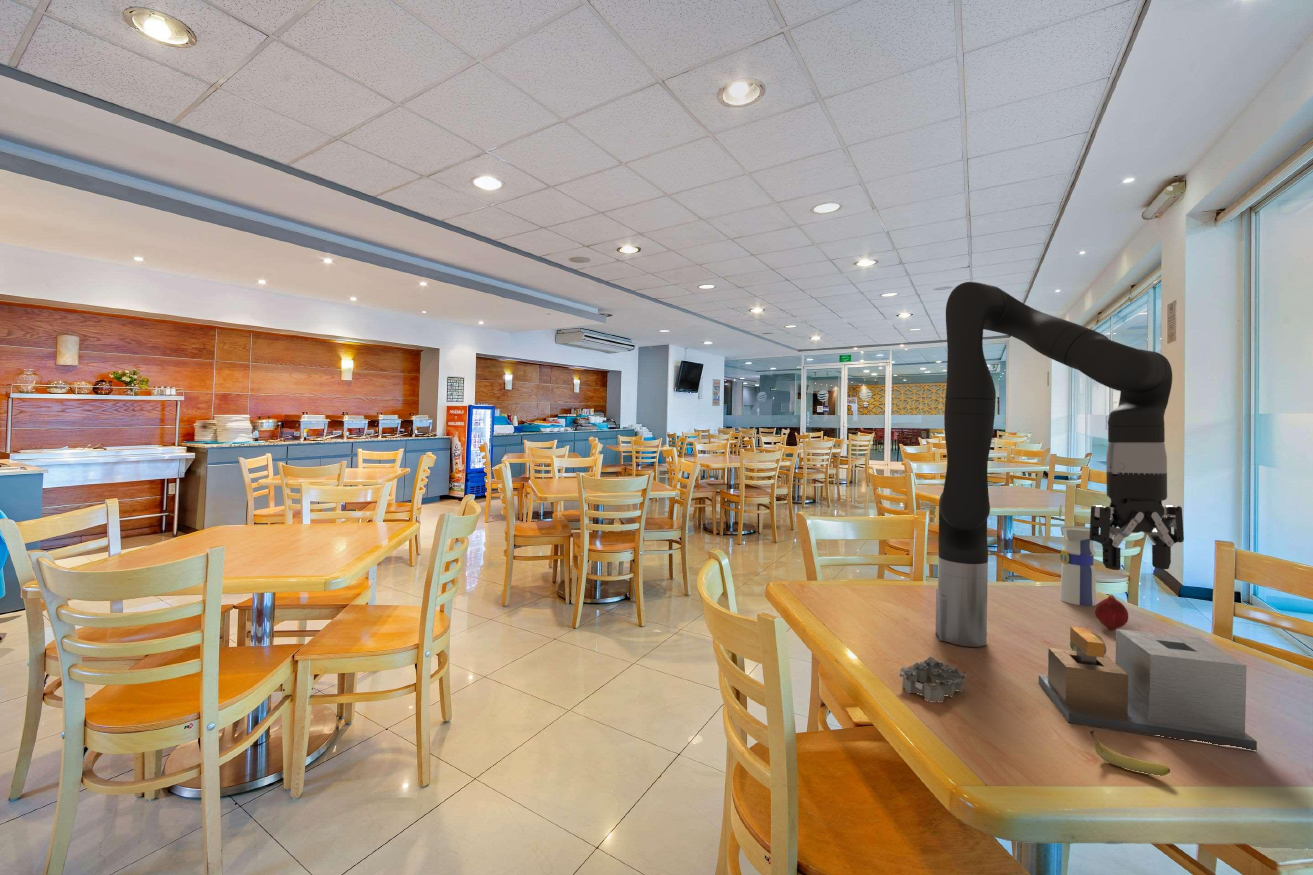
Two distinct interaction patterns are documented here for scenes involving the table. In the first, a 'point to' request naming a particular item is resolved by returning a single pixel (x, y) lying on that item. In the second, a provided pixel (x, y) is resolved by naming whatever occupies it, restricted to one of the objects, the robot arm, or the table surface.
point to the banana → (1128, 760)
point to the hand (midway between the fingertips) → (1136, 568)
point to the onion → (1111, 613)
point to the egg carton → (932, 679)
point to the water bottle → (1077, 566)
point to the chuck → (1154, 689)
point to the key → (1086, 645)
